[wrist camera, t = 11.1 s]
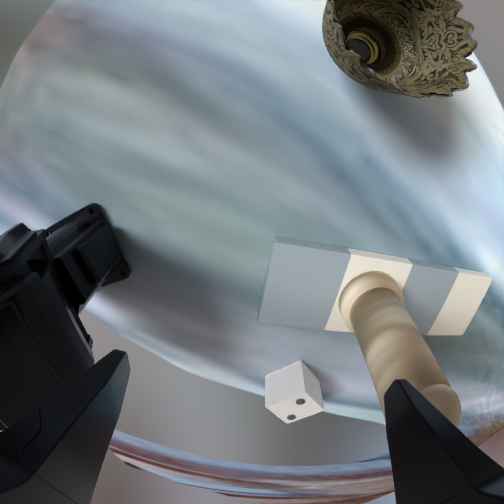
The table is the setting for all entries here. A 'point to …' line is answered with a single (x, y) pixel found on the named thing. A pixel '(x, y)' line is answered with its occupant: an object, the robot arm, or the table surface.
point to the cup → (402, 44)
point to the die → (293, 392)
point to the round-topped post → (394, 341)
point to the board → (351, 265)
